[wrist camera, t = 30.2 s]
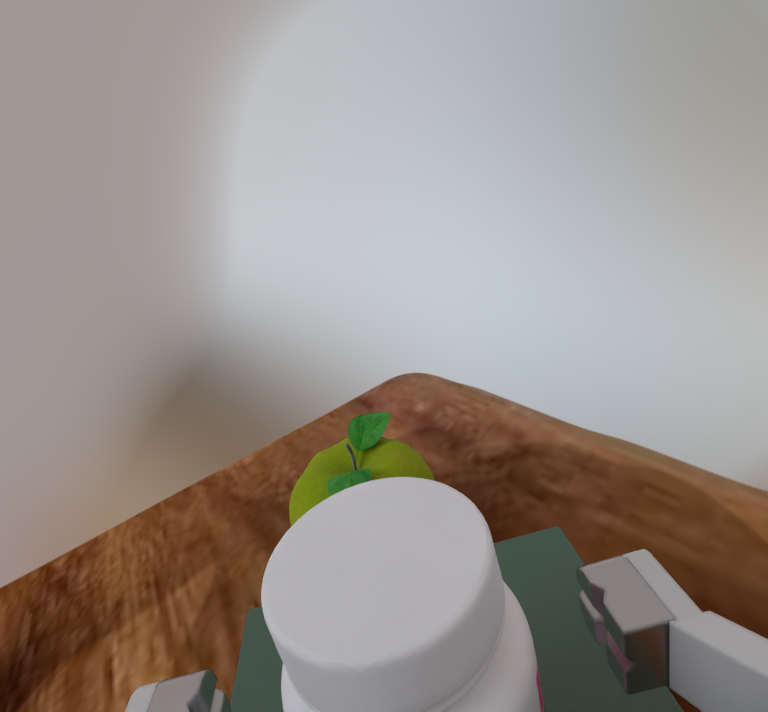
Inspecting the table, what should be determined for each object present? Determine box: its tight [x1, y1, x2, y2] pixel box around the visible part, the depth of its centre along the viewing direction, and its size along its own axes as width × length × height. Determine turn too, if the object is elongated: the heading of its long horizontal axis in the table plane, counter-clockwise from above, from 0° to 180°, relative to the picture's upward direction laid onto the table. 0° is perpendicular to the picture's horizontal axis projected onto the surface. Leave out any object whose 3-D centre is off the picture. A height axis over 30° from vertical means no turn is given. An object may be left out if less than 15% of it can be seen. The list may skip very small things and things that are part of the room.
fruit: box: [289, 412, 435, 527], centre depth 30 cm, size 9×9×10 cm
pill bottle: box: [261, 477, 545, 712], centre depth 9 cm, size 5×5×8 cm
